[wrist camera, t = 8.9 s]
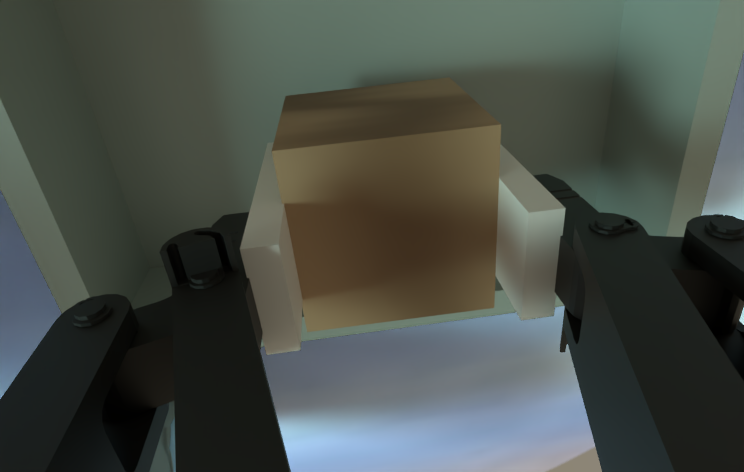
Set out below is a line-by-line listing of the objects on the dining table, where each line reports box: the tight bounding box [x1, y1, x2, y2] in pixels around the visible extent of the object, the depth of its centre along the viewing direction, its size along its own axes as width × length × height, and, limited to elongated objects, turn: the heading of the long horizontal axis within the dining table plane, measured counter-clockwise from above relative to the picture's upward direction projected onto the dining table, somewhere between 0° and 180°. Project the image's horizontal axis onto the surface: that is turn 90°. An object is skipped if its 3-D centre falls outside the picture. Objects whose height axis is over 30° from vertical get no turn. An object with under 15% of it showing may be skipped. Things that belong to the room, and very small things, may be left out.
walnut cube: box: [272, 77, 501, 332], centre depth 14 cm, size 5×5×5 cm
